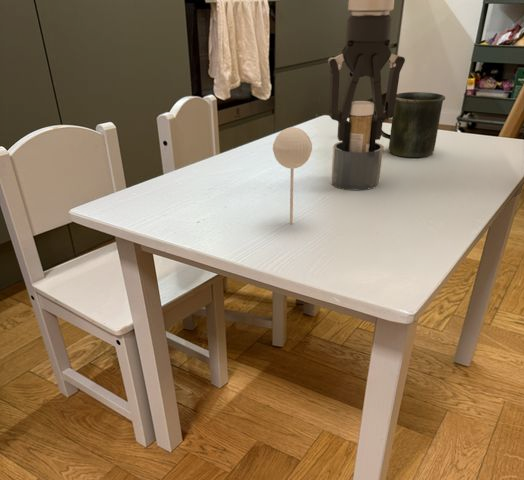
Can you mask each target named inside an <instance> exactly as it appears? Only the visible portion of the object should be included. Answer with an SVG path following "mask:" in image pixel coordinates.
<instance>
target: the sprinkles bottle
mask: <svg viewBox="0 0 524 480" xmlns="http://www.w3.org/2000/svg"><path fill="white" fill-rule="evenodd" d="M373 117H374V103H373V101H368V100H355V101H352V104H351V107H350V111H349V115H348V122H349V123H350V124H351V125H350V137H349V150H348V151H349V152H369V147H370V132H371V123H372V120H373Z"/></svg>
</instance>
